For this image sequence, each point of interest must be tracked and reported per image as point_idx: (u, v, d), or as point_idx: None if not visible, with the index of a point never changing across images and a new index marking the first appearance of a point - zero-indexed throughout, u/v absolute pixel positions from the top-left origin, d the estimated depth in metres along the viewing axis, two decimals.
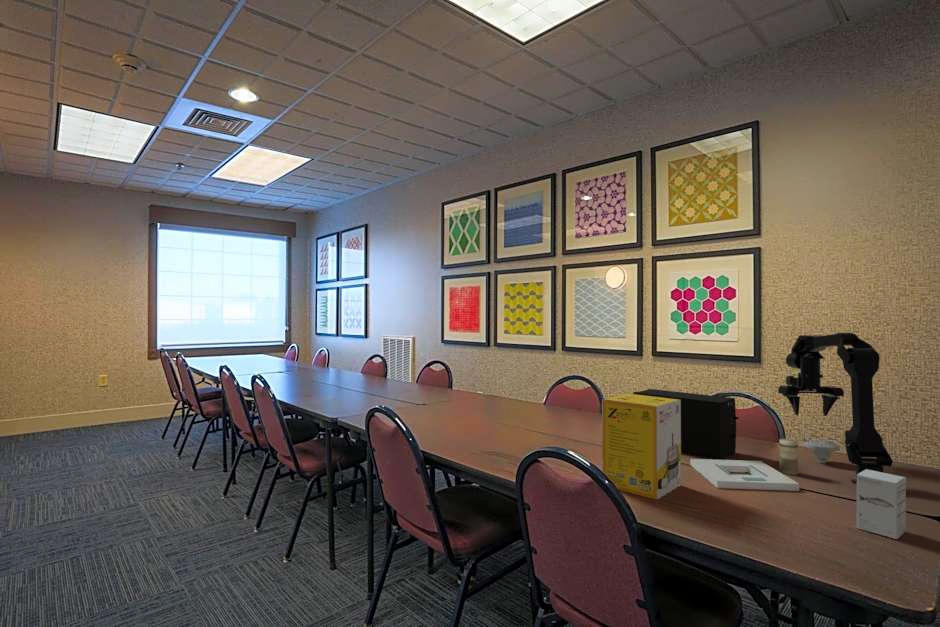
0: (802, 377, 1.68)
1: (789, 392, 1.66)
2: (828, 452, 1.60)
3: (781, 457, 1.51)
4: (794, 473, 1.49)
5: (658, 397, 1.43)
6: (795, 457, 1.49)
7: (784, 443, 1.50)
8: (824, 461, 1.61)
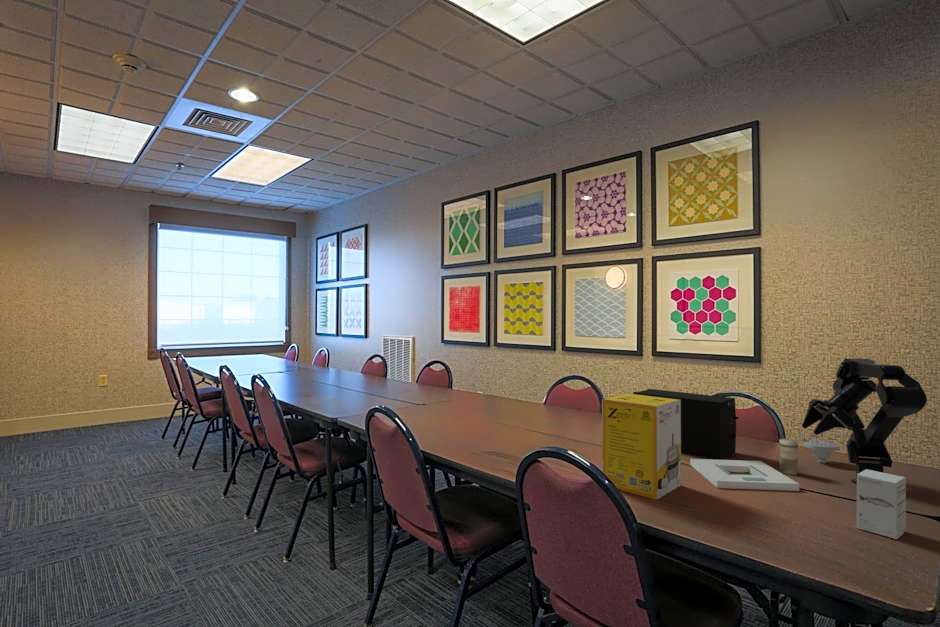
0: None
1: (811, 400, 1.57)
2: (828, 452, 1.60)
3: (781, 457, 1.51)
4: (794, 473, 1.49)
5: (658, 397, 1.43)
6: (795, 457, 1.49)
7: (784, 443, 1.50)
8: (824, 461, 1.61)
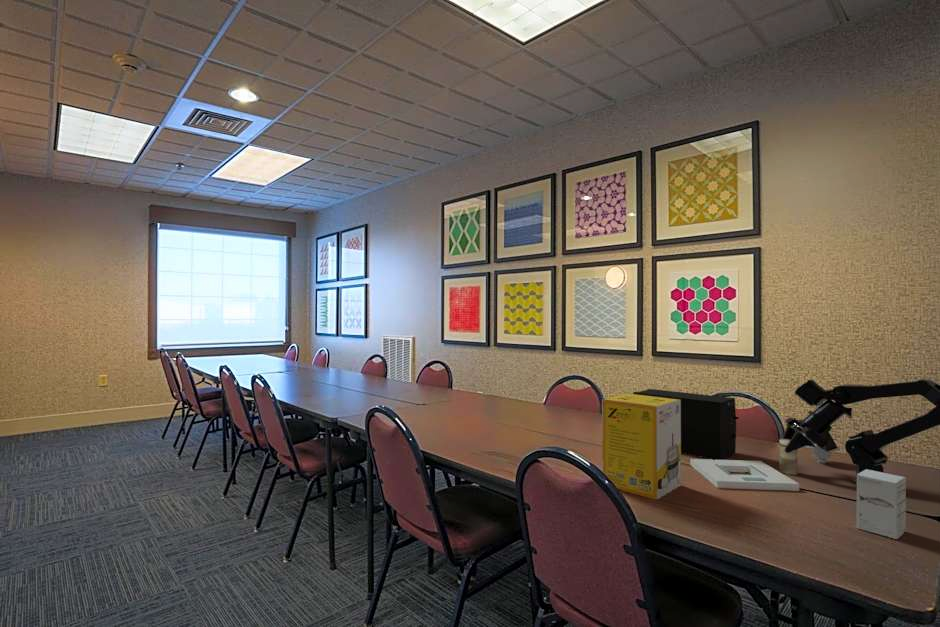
0: None
1: (787, 419, 1.59)
2: (828, 452, 1.60)
3: (781, 457, 1.51)
4: (794, 473, 1.49)
5: (658, 397, 1.43)
6: (795, 457, 1.49)
7: (784, 443, 1.50)
8: (824, 461, 1.61)
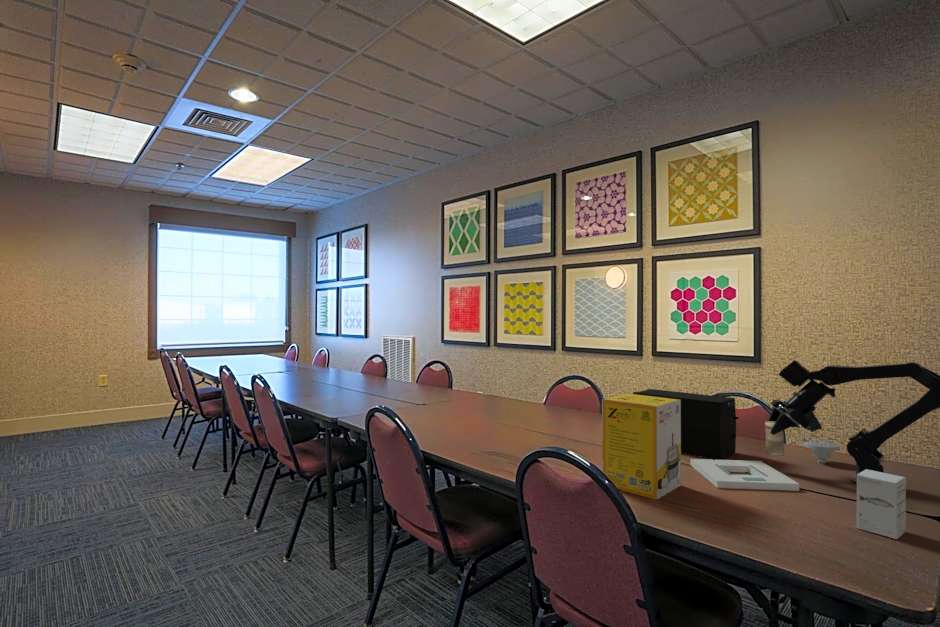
0: None
1: None
2: (828, 452, 1.60)
3: (767, 439, 1.52)
4: (780, 454, 1.50)
5: (658, 397, 1.43)
6: (781, 438, 1.50)
7: (770, 425, 1.51)
8: (824, 461, 1.61)
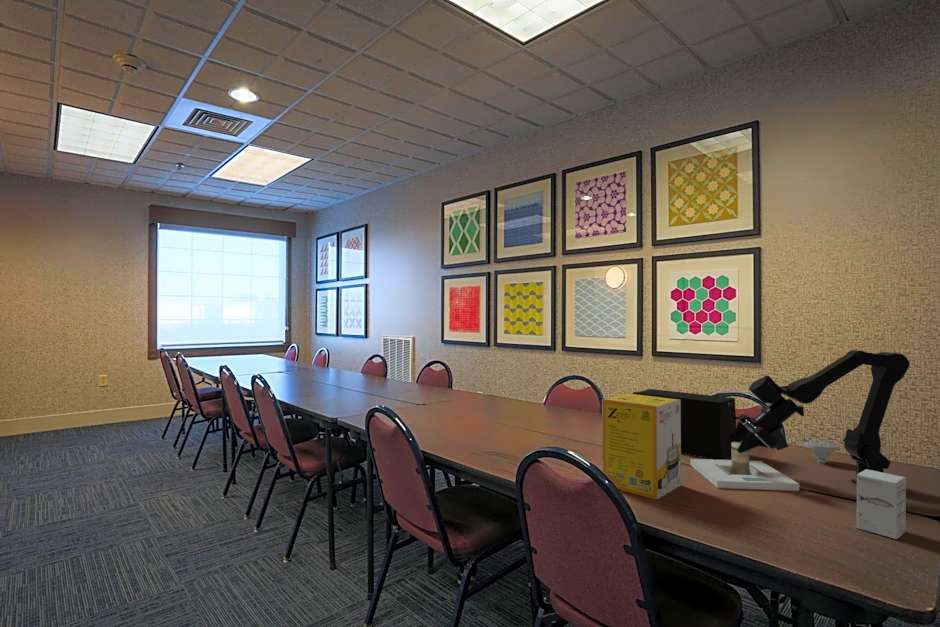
0: None
1: None
2: (828, 452, 1.60)
3: (733, 461, 1.47)
4: None
5: (658, 397, 1.43)
6: (747, 460, 1.45)
7: (736, 446, 1.46)
8: (824, 461, 1.61)
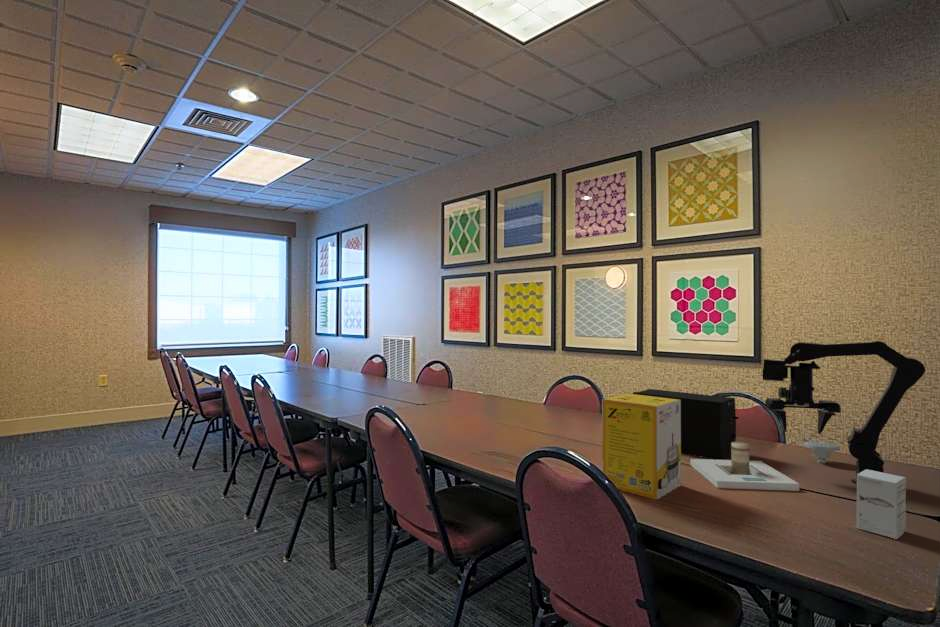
0: (791, 389, 1.49)
1: (773, 406, 1.49)
2: (828, 452, 1.60)
3: (733, 461, 1.47)
4: None
5: (658, 397, 1.43)
6: (747, 460, 1.45)
7: (736, 446, 1.46)
8: (824, 461, 1.61)
